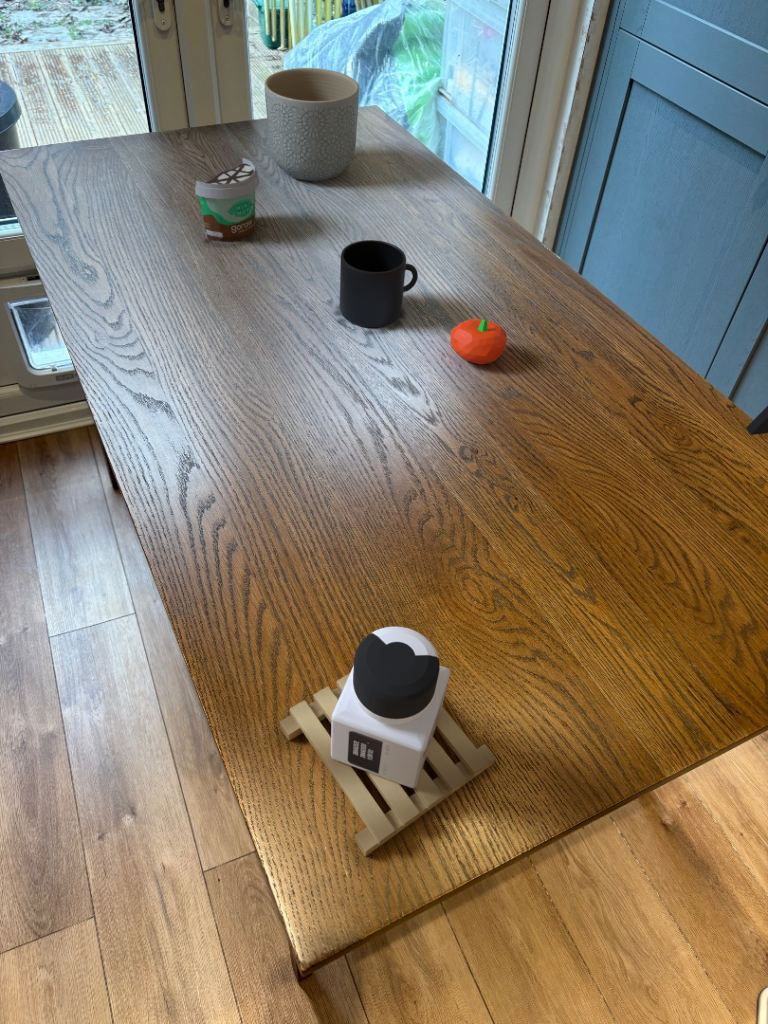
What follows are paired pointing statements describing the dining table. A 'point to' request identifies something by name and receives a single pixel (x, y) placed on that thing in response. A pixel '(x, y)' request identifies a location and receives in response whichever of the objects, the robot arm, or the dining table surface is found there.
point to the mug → (373, 282)
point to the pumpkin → (478, 340)
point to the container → (390, 705)
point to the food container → (229, 203)
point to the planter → (312, 121)
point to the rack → (401, 805)
